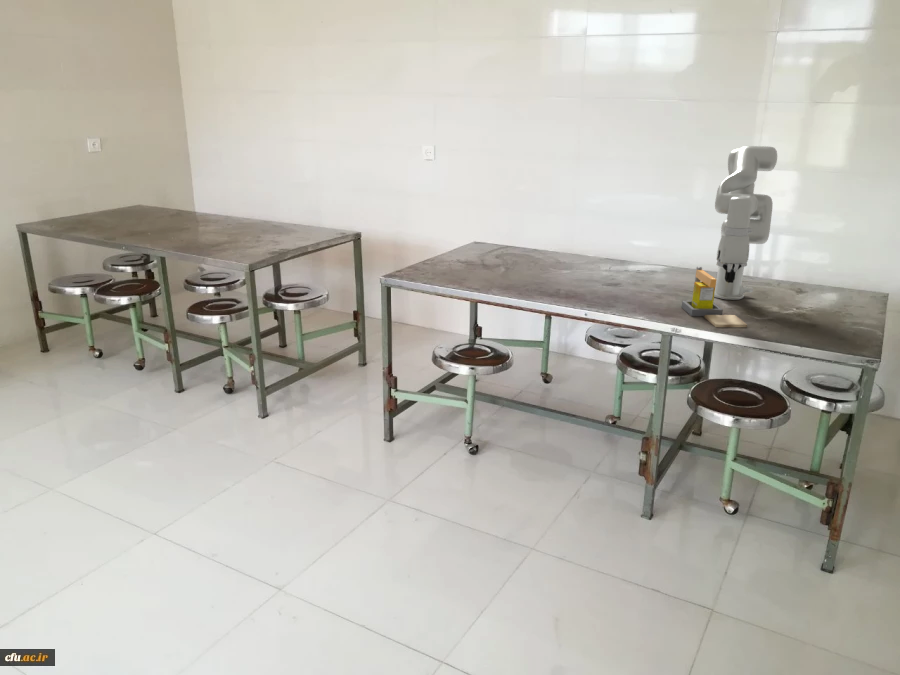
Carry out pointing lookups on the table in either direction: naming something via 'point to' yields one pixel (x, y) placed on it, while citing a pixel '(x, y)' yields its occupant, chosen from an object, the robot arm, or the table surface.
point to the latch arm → (704, 277)
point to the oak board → (725, 321)
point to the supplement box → (702, 296)
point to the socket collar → (701, 312)
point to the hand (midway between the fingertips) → (729, 281)
